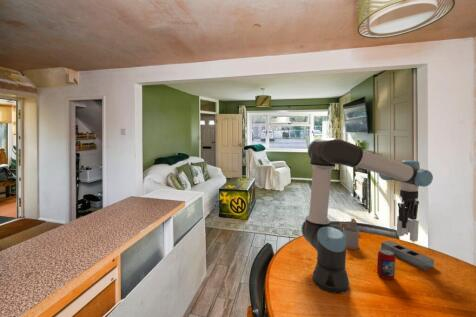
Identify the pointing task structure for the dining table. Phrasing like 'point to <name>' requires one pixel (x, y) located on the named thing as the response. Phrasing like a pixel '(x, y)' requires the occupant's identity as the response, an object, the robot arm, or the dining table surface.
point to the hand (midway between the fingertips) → (407, 233)
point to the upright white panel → (411, 225)
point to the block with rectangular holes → (409, 255)
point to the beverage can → (386, 264)
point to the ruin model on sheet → (347, 224)
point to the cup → (351, 237)
